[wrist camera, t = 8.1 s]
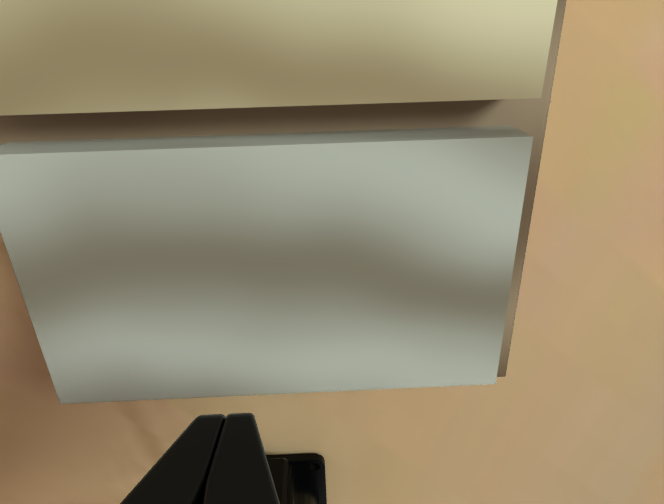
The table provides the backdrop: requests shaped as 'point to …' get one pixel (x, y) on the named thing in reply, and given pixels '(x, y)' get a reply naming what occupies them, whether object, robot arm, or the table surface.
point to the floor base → (273, 244)
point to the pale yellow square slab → (267, 53)
